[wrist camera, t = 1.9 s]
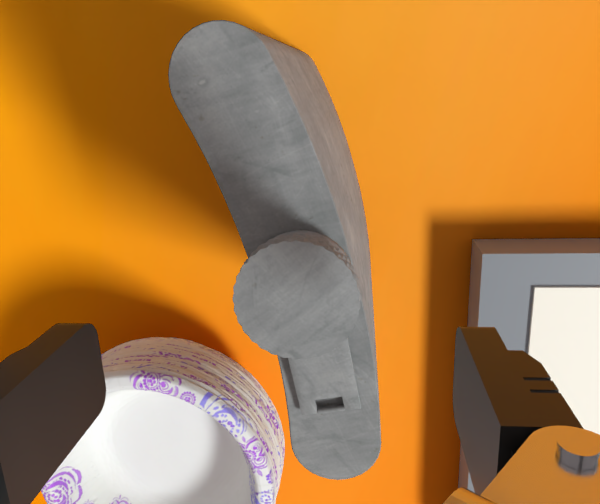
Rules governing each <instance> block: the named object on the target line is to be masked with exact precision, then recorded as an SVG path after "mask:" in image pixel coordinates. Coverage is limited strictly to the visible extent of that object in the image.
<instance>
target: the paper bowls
mask: <svg viewBox="0 0 600 504" xmlns="http://www.w3.org/2000/svg"><path fill="white" fill-rule="evenodd" d="M101 359H102V365H103V371H104V377H105V383H106V398H105V403H104V406H103V409H102V411H101V413H100V414H99V416H98V417H97V418H96V419H95V421H94V422H93V423H92V425H91V426H90V427H89V429H88V430H87V431H86V432H85V434H84V435H83V436H82V438H81V439H80V440H79V441H78V443H77V444H76V445H75V447H74V448H73V449H72V451H71V452H70V453H69V454H68V456H67V457H66V458H65V460H64V461H63V462H62V463H61V465H60V466H59V467H58V469H57V470H56V471H55V473H54V474H53V475H52V476H51V478H50V479H49V480H48V482H47V483H46V484H45V485H44V487H43V488H42V489H41V492H42V494H43V496H44V498H45V500H46V502H47V504H275V502H276V497H277V493H278V489H279V485H280V479H281V474H282V469H283V465H284V454H285V440H284V433H283V429H282V425H281V421H280V418H279V415H278V413H277V410H276V408H275V406H274V405H273V403H272V401H271V399H270V398H269V396H268V394H267V393H266V391H265V390H264V389H263V387H262V386H261V385H260V383H259V382H258V381H257V380H256V379H255V378H254V377H253V376H252V374H250V373H249V372H248V371H247V370H246V369H244V368H243V367H242V366H241V365H239V364H238V363H237V362H235V361H234V360H232V359H231V358H229V357H227V356H226V355H224V354H223V353H221V352H219V351H216V350H214V349H211V348H209V347H206V346H204V345H202V344H199V343H196V342H193V341H191V340H186V339H181V338H172V337H167V338H165V337H149V338H143V339H136V340H131V341H128V342H125V343H123V344H120V345H118V346H116V347H114V348H112V349H110V350H108V351H106V352H105V353H103V354H101Z"/></svg>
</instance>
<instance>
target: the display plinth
mask: <svg viewBox="0 0 600 504" xmlns="http://www.w3.org/2000/svg"><path fill="white" fill-rule="evenodd" d="M467 327H495V328H496V330H497V332H498V333H499V335H500V337H501V339H502V341H503V342H504V344H505V346H506V348H507V350H523V351H524V352H526V353H527V354H529V355H530V356H532V357H533V358H535V359H536V360H537V361H539V362H540V363H542V365H543V367H544V368H545V370H546V371H547V373H548V374H549V376H550V377H551V381H553V382H554V384H555V385H556V387H557V388H558V390H559V393H561V394H562V396H563V398H564V399H565V401H566V402H567V404H568V405H569V407H570V408H571V410H572V411H573V413H574V415H575V416H576V418H577V419H578V421H579V422H580V424H581V425H582V427H583V428H584V429H585V430H589V431H592V432H594V433H597V434H599V435H600V238H553V239H472V254H471V271H470V288H469V306H468V323H467ZM461 487H464V488H466V489H468V490H470V491H472V492H474V493H475V491H474V487H473V484H472V480H471V477H470V473H469V470H468V466H467V463H466V459H465V456H464V452H463V448H462V445H460V463H459V480H458V488H461Z"/></svg>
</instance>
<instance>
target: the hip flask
mask: <svg viewBox="0 0 600 504" xmlns="http://www.w3.org/2000/svg"><path fill="white" fill-rule="evenodd" d="M168 75H169V86H170V90H171V93H172V97H173V99H174V101H175V103H176V105H177V107H178V109H179V111H180V112H181V114H182V116H183V118H184V119H185V121H186V123H187V125H188V126H189V128H190V130H191V132H192V133H193V135H194V137H195V139H196V141H197V143H198V145H199V147H200V148H201V150H202V152H203V154H204V156H205V158H206V160H207V162H208V164H209V166H210V168H211V170H212V172H213V174H214V177H215V179H216V181H217V183H218V185H219V187H220V189H221V192H222V194H223V196H224V198H225V201H226V203H227V205H228V208H229V210H230V212H231V215H232V217H233V219H234V222H235V224H236V226H237V229H238V232H239V234H240V237H241V240H242V242H243V245H244V248H245V250H246V253H247V256H248V259H247V260H246V261H245V262H244V265H243V266H242V267H241V270H240V273H239V274H238V275H237V277H236V284H235V285H234V288H233V289H234V295H233V302H234V311H235V313H236V315H237V319H238V322H239V324H240V325H241V326H242V328H243V331H244V332H245V333H246V334H247V335H248V336H249V337H250V339H251V340H252V341H253V342H255V343H257V344H258V345H259V347H260V348H262V349H264V350H267V351H268V352H270V353H271V354H274V355H278V360H279V364H280V368H281V373H282V379H283V384H284V389H285V394H286V402H287V409H288V416H289V426H290V437H291V445H292V449H293V452H294V454H295V456H296V458H297V459H298V461H299V462H300V463H301V464H302V465H303V466H304V467H305V468H306V469H308V470H309V471H310V472H312V473H314V474H316V475H318V476H321V477H324V478H328V479H336V480H339V479H348V478H353V477H356V476H358V475H360V474H362V473H364V472H365V471H367V470H368V469H369V468H370V467H371V466H372V465H373V464H374V463H375V461H376V460H377V458H378V456H379V453H380V448H381V430H380V410H379V394H378V377H377V361H376V345H375V329H374V313H373V297H372V281H371V265H370V251H369V239H368V232H367V224H366V218H365V212H364V206H363V201H362V197H361V192H360V187H359V183H358V179H357V175H356V171H355V168H354V164H353V160H352V157H351V153H350V150H349V147H348V143H347V140H346V137H345V134H344V131H343V128H342V126H341V123H340V120H339V117H338V115H337V112H336V110H335V107H334V104H333V102H332V99H331V97H330V95H329V93H328V90H327V88H326V86H325V84H324V82H323V79H322V77H321V75H320V73H319V71H318V69H317V67H316V65H315V63H314V62H313V60H312V59H311V58H310V57H309V56H308V55H307V54H306V53H304V52H302V51H300V50H298V49H295V48H293V47H291V46H288V45H286V44H284V43H281V42H279V41H277V40H275V39H272V38H270V37H268V36H265V35H263V34H261V33H258V32H256V31H254V30H251V29H249V28H247V27H245V26H242V25H240V24H237V23H235V22H230V21H225V20H216V21H209V22H205V23H202V24H200V25H198V26H196V27H194V28H192V29H191V30H190V31H189V32H187V33H186V34H185V35H184V36H183V37H182V38H181V40H180V41H179V42H178V43H177V45H176V47H175V49H174V51H173V53H172V57H171V60H170V64H169V74H168Z"/></svg>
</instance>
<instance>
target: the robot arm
mask: <svg viewBox="0 0 600 504" xmlns="http://www.w3.org/2000/svg"><path fill="white" fill-rule="evenodd" d="M105 398H106V383H105V377H104V371H103V365H102V359H101V352H100V346H99V340H98V335H97V331H96V329H95V327H94V326H93V325H92V324H82V323H58V324H55V325H54V326H52V327H51V328H50V329H49V330H48V331H46V332H45V333H44V334H43V335H41V336H40V337H39V338H38V339H36V340H35V341H34V342H33V343H31V344H30V345H29V346H28V347H26V348H24V349H22V350H20V351H17V352H15V353H13V354H11V355H10V356H8V357H7V358H6V359H4V360H3V361H2V362H1V363H0V504H31V502H32V501H33V500H34V498H35V497H36V496H37V495H38V493H39V492H40V491H41V489H42V488H43V487H44V485H45V484H46V483H47V482H48V480H49V479H50V478H51V476H52V475H53V474H54V473H55V471H56V470H57V469H58V467H59V466H60V465H61V463H62V462H63V461H64V460H65V458H66V457H67V456H68V454H69V453H70V452H71V451H72V449H73V448H74V447H75V445H76V444H77V443H78V441H79V440H80V439H81V438H82V436H83V435H84V434H85V432H86V431H87V430H88V429H89V427H90V426H91V425H92V423H93V422H94V421H95V419H96V418H97V417H98V416H99V414H100V413H101V411H102V409H103V406H104V403H105ZM453 410H454V418H455V423H456V427H457V431H458V434H459V438H460V441H461V445H462V448H463V452H464V456H465V459H466V463H467V466H468V470H469V473H470V477H471V480H472V484H473V487H474V491H475V493H474V492H472V491H470V490H468V489H466V488H464V487H461V488H458V489H457V490H455V491H454V492H453V493H452V494H451V495H450V496H449V497H448V498H447V499H446V501H445V502H444V503H443V504H600V435H599V434H597V433H594V432H592V431H589V430H585V429H584V428H583V427H582V425H581V424H580V422H579V421H578V419H577V418H576V416H575V415H574V413H573V411H572V410H571V408H570V407H569V405H568V404H567V402H566V401H565V399H564V398H563V396H562V394H561V393H559V390H558V388H557V387H556V385H555V384H554V382H553V381H551V377H550V376H549V374H548V373H547V371H546V370H545V368H544V367H543V365H542V363H540V362H539V361H537V360H536V359H535V358H533V357H532V356H530V355H529V354H527V353H526V352H524V351H523V350H507V348H506V346H505V344H504V342H503V341H502V339H501V337H500V335H499V333H498V332H497V330H496V328H495V327H458V328H457V331H456V340H455V360H454V380H453Z"/></svg>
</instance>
